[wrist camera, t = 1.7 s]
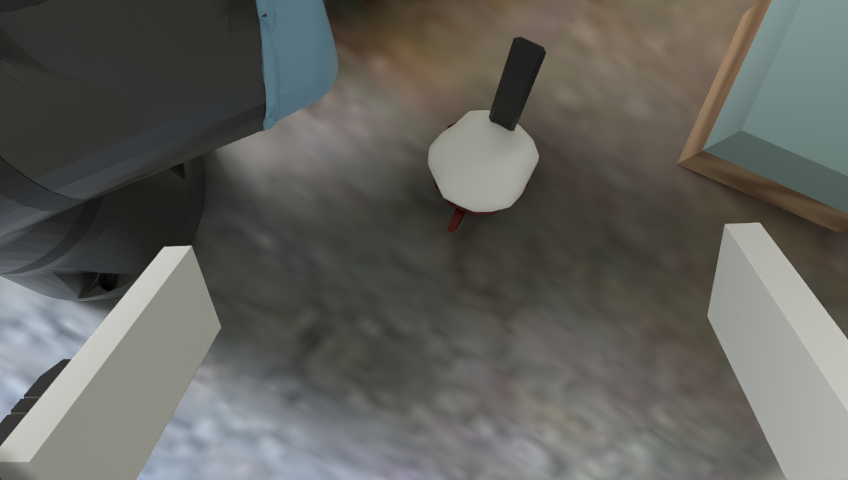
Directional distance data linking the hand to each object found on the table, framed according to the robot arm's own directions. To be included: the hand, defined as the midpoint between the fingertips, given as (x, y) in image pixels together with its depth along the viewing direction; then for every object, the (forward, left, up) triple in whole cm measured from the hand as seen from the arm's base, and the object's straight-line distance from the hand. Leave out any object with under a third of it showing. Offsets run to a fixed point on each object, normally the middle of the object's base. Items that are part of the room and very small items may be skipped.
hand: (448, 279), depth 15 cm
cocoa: (-1, +7, -26) cm, 27 cm away
